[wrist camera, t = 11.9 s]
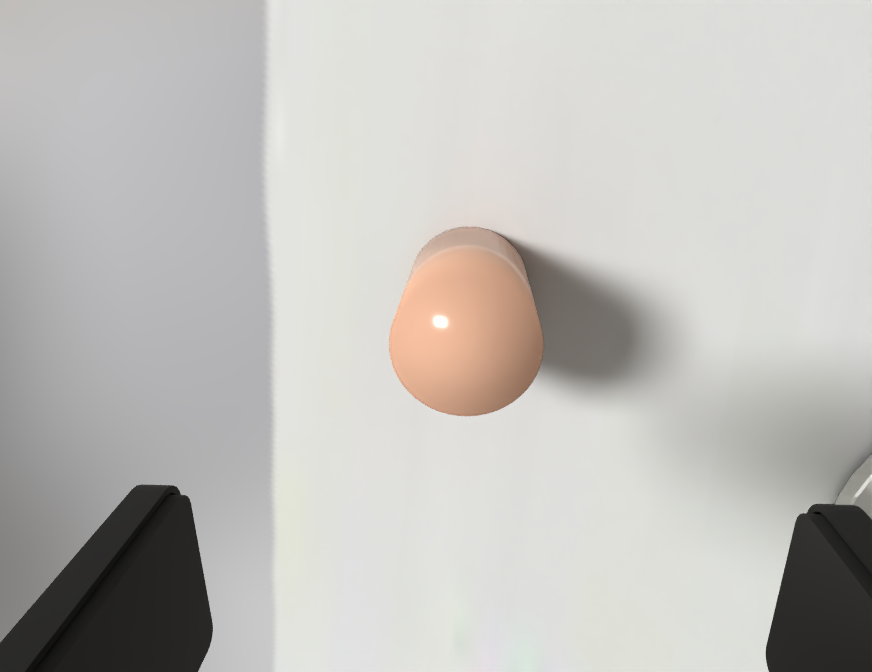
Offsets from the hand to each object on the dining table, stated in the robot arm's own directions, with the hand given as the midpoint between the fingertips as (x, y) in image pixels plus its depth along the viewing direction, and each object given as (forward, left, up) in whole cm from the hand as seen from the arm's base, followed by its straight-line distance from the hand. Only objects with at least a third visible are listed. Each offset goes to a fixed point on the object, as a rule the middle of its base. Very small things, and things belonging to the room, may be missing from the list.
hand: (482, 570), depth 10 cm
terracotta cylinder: (-1, +1, -18) cm, 18 cm away
